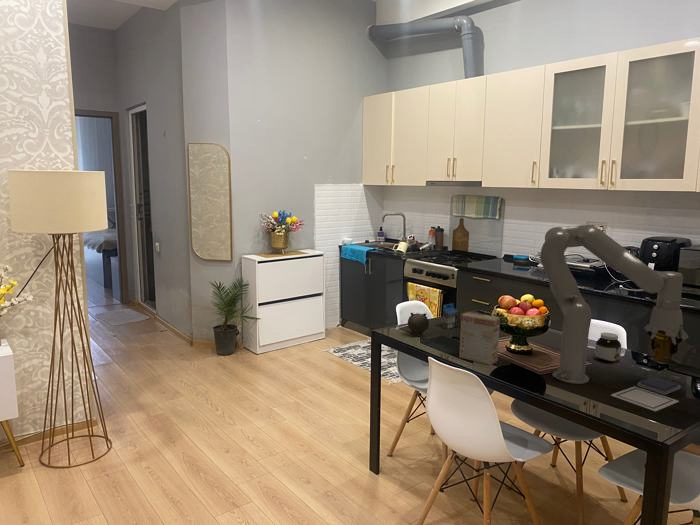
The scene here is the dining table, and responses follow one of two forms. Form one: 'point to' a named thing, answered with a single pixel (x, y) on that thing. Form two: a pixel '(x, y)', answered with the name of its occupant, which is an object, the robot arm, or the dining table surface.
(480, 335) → the coffeecake box
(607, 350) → the spread jar
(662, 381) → the ink pad
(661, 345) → the condiment
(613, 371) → the dining table surface
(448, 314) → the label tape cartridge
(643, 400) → the marked sheet
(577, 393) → the dining table surface
